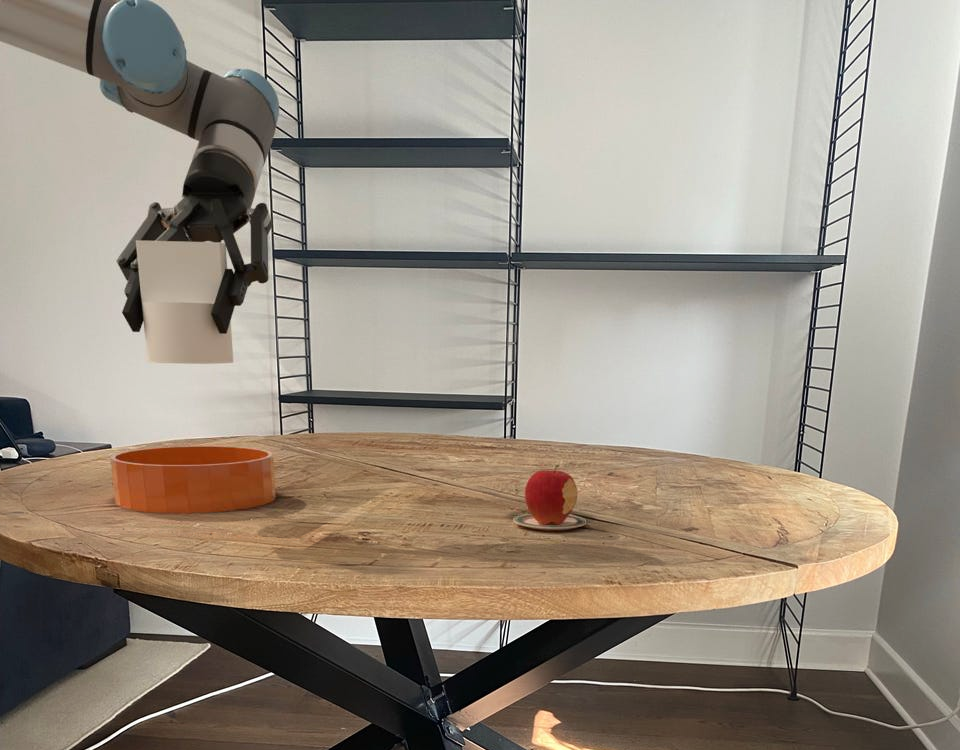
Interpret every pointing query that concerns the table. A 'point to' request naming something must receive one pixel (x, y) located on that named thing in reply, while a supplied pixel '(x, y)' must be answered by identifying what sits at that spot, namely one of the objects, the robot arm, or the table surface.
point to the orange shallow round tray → (193, 479)
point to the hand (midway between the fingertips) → (174, 323)
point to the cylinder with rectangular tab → (182, 301)
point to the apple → (550, 502)
